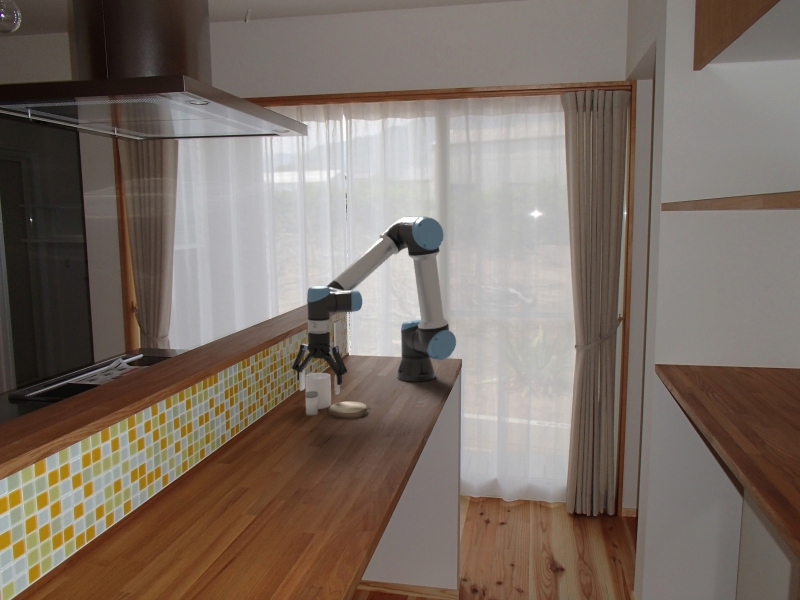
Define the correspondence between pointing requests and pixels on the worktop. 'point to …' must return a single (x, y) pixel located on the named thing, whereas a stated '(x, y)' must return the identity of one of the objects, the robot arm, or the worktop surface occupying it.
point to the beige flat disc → (348, 410)
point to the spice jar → (311, 403)
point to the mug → (320, 388)
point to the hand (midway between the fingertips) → (319, 391)
